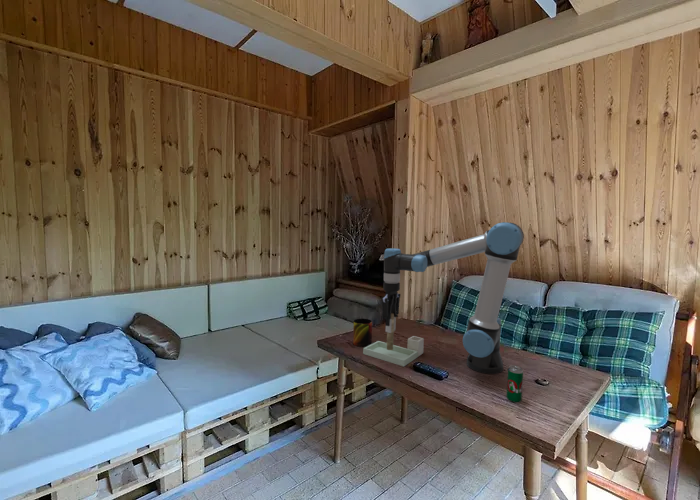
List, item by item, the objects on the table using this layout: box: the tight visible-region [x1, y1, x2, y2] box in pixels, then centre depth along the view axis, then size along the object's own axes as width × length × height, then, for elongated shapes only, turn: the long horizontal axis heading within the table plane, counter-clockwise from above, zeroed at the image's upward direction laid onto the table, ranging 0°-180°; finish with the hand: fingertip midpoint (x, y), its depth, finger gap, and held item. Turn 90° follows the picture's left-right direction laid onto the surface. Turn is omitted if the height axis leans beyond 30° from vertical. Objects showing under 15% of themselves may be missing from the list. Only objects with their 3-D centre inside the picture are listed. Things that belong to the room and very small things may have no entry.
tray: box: [362, 340, 419, 367], centre depth 161 cm, size 22×13×4 cm, turn 52°
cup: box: [406, 335, 425, 357], centre depth 164 cm, size 6×6×8 cm
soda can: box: [505, 365, 524, 403], centre depth 124 cm, size 5×5×12 cm
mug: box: [352, 318, 373, 348], centre depth 179 cm, size 10×14×12 cm
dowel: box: [386, 313, 395, 350], centre depth 160 cm, size 3×3×17 cm
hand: (390, 331), depth 160 cm, fingers closed on dowel, 3 cm apart
